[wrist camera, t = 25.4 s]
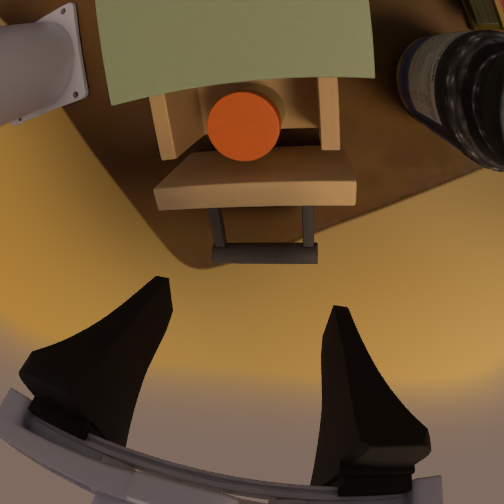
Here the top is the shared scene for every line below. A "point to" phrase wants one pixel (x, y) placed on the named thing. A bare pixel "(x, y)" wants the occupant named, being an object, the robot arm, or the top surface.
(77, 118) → the top surface
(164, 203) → the drawer
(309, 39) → the cabinet
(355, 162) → the top surface
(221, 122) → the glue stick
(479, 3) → the red hardcover book
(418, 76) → the pill bottle
